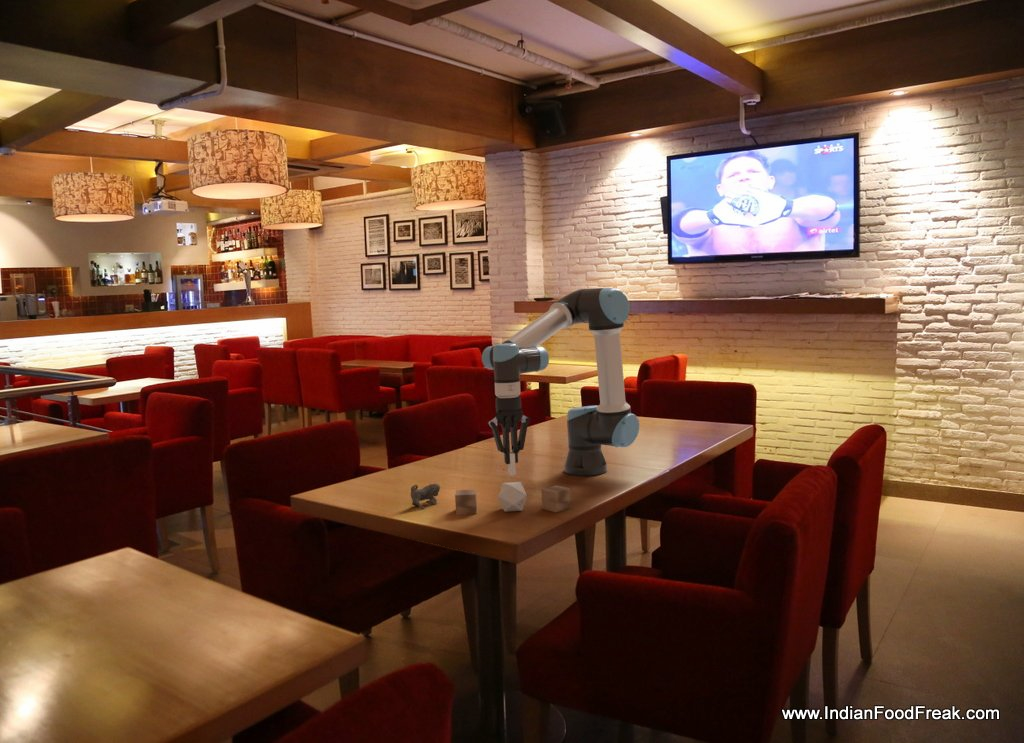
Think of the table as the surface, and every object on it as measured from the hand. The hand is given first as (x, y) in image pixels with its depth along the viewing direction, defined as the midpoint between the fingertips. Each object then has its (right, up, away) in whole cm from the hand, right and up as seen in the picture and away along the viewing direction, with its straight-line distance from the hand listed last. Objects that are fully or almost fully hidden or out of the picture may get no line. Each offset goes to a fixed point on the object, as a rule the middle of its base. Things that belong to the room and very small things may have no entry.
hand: (511, 474), depth 234 cm
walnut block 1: (-14, -11, +1) cm, 18 cm away
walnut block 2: (+13, -10, 0) cm, 17 cm away
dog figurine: (-26, -11, +11) cm, 31 cm away
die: (0, -11, +1) cm, 11 cm away
